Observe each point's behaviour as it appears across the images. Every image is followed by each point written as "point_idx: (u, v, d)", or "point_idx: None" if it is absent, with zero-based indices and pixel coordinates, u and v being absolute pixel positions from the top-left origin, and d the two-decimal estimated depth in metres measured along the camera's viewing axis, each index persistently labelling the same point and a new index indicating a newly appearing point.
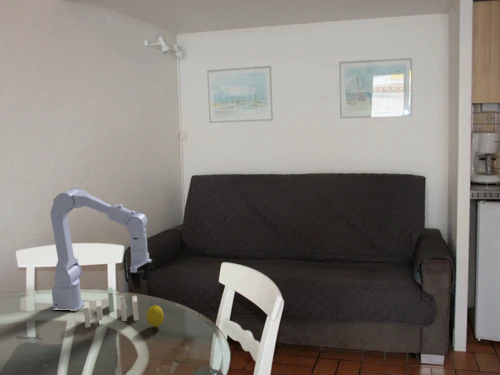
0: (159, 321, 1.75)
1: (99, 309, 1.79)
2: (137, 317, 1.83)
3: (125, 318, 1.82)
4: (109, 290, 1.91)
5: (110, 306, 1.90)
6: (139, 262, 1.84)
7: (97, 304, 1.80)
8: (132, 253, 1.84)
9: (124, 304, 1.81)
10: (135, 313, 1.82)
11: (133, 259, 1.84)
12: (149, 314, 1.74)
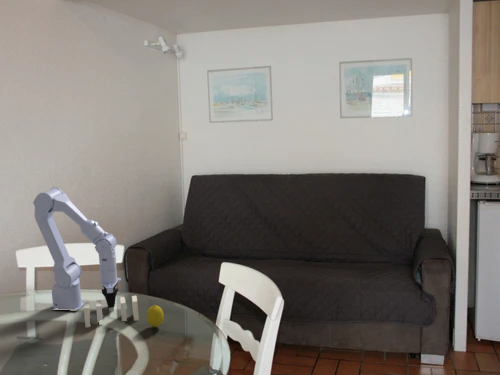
0: (159, 321, 1.75)
1: (99, 309, 1.79)
2: (137, 317, 1.83)
3: (125, 318, 1.82)
4: None
5: None
6: (111, 282, 1.88)
7: (97, 304, 1.80)
8: (103, 274, 1.87)
9: (124, 304, 1.81)
10: (135, 313, 1.82)
11: (105, 280, 1.87)
12: (149, 314, 1.74)
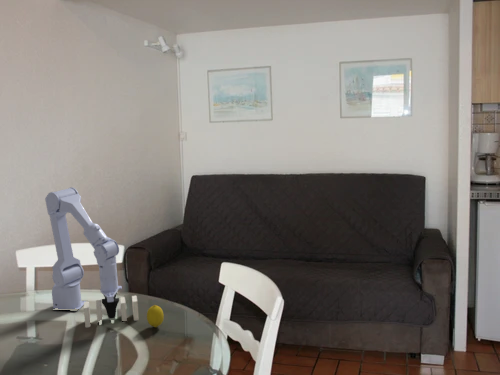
0: (159, 321, 1.75)
1: (99, 309, 1.79)
2: (137, 317, 1.83)
3: (125, 318, 1.82)
4: None
5: (111, 318, 1.80)
6: (112, 290, 1.78)
7: (97, 304, 1.80)
8: (103, 282, 1.77)
9: (124, 304, 1.81)
10: (135, 313, 1.82)
11: (105, 288, 1.78)
12: (149, 314, 1.74)
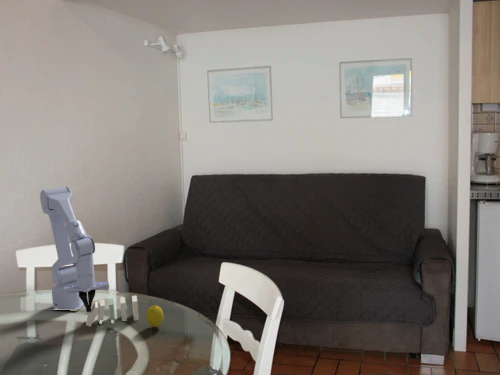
0: (159, 322, 1.75)
1: (102, 309, 1.79)
2: (137, 317, 1.83)
3: (125, 318, 1.82)
4: (110, 301, 1.82)
5: (111, 318, 1.80)
6: (77, 287, 1.77)
7: (101, 303, 1.80)
8: None
9: (124, 304, 1.81)
10: (135, 313, 1.82)
11: None
12: (149, 314, 1.74)
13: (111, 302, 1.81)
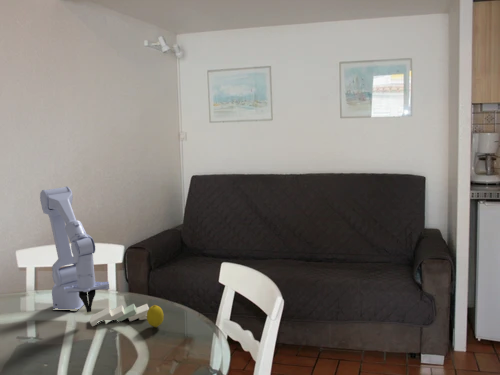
0: (159, 321, 1.75)
1: (120, 314, 1.81)
2: None
3: (133, 319, 1.82)
4: (134, 307, 1.84)
5: (121, 317, 1.81)
6: (77, 287, 1.77)
7: (122, 309, 1.82)
8: None
9: None
10: None
11: None
12: (149, 314, 1.74)
13: (135, 309, 1.84)
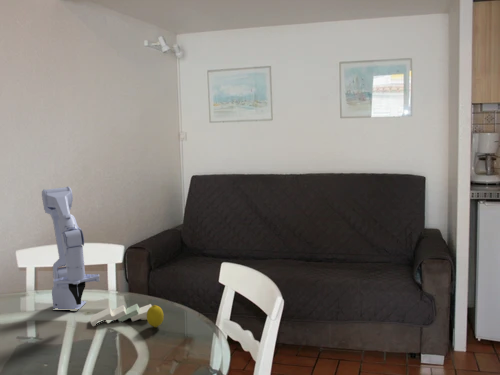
0: (159, 321, 1.75)
1: (122, 314, 1.81)
2: None
3: (135, 319, 1.82)
4: (137, 307, 1.84)
5: (123, 317, 1.81)
6: (67, 279, 1.75)
7: (124, 309, 1.83)
8: None
9: None
10: None
11: None
12: (149, 314, 1.74)
13: (137, 309, 1.84)
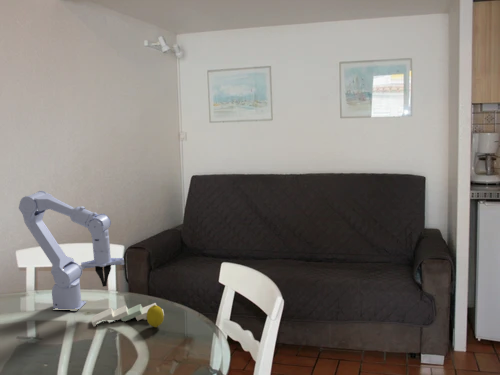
0: (159, 321, 1.75)
1: (124, 314, 1.81)
2: None
3: (140, 318, 1.82)
4: (140, 308, 1.84)
5: (126, 317, 1.81)
6: (94, 262, 1.86)
7: (126, 310, 1.83)
8: None
9: None
10: None
11: None
12: (149, 314, 1.74)
13: (141, 310, 1.84)
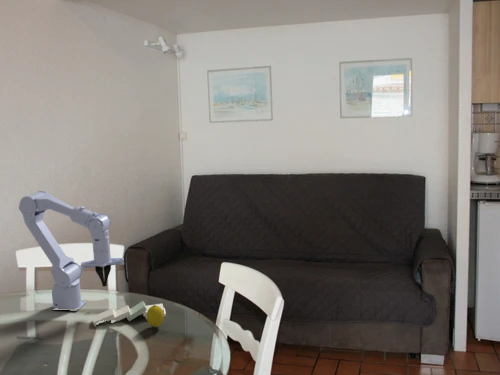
0: (159, 321, 1.75)
1: (126, 315, 1.82)
2: None
3: None
4: (144, 304, 1.85)
5: (132, 315, 1.82)
6: (94, 262, 1.86)
7: (129, 310, 1.83)
8: None
9: None
10: None
11: None
12: (149, 314, 1.74)
13: (145, 306, 1.85)
